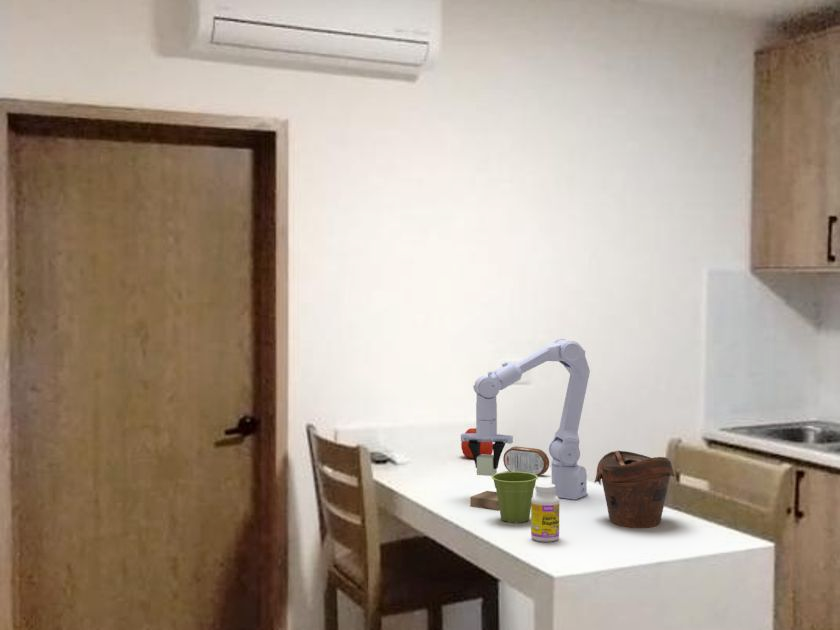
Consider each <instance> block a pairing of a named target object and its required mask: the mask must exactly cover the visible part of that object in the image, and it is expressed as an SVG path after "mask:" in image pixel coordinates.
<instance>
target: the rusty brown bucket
mask: <svg viewBox="0 0 840 630" xmlns="http://www.w3.org/2000/svg"><path fill="white" fill-rule="evenodd" d="M671 477H674V478H675V472H674V468H673V466H672V461H671V460H669V458H668V457H666V456H665V457H664V456H656V457H650V456H647V455H643V454H640V453H636V452H632V451H627V450H615V451H609V452H608V453H606V454H605V455H603V457H602V458H601V459H600V460H599V461H598V463H597V467H596V474H595V478H594V479H595V480H594V484H595V483H598V484H599V485H600V486H601V483H602V487H603V493H604V497H605V501H606V502H605V503H606V507H607V514H608V518H609V521H611V523H613V524H615V525H619V526H623V527H627V528H637V529H638V528H640V529H641V528H642V529H643V528H651V527H656V526H658V525H660V524H661V522H662V516H663V511H664V507H665V503H666V498H667V493H668V489H669V484H670V479H671Z"/></svg>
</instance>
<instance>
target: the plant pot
mask: <svg viewBox="0 0 840 630" xmlns="http://www.w3.org/2000/svg"><path fill="white" fill-rule="evenodd" d="M491 479H492V480H493V483H494V488H495V489H496V490H495V492H497V497H498V503H499V509H500V510H499V512H500V519H501V521H503V522H508V523H511V524H515V523H516V524H521V523H524V522H525V521H529V520H530V517H531V499H532V497H533V496H534V489H535V487H536V484H537V483H536V482H537V480H538V479H539V476H537V475H535V474H532V473H526V472H510V471H503V472H498V473H496V474H494V475H492V476H491Z"/></svg>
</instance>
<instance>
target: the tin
mask: <svg viewBox="0 0 840 630" xmlns="http://www.w3.org/2000/svg"><path fill="white" fill-rule="evenodd" d="M503 465H504V467H505V469H506V470H507V472H526V473H532V474H535V475H537V476H538V477H539V476H541V475H544V474H546V472H547V471H548V470H549V467H550V459H549V457H548V455H547V453H545V451H543V450H542V449H540V448H534V447H525V446H524V447H523V446H512V447H510V448H509V449H507V450H506V451H505V453H504V454H503Z"/></svg>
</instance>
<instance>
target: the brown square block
mask: <svg viewBox="0 0 840 630" xmlns="http://www.w3.org/2000/svg"><path fill="white" fill-rule="evenodd" d="M469 498H470V500H469V501H470V502H469V507H473V508H474V507H475V508H479V509H486V510H491V511H493V510H494V511H499V512H500V509H499V503H498V497H497V491H492V490H491V491H490V490H486V491H483V492H480V493H477V494H475V495H472V496H470V497H469Z"/></svg>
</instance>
